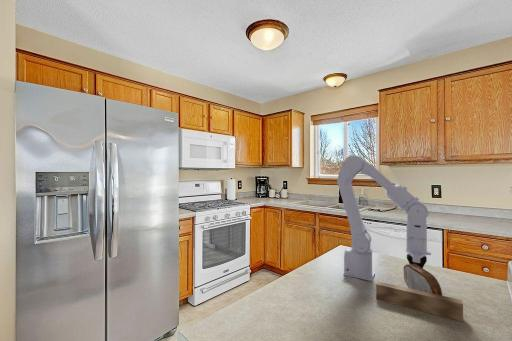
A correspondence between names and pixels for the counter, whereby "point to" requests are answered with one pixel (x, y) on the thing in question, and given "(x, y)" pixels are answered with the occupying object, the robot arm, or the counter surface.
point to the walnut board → (420, 300)
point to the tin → (421, 279)
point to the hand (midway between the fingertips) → (416, 277)
